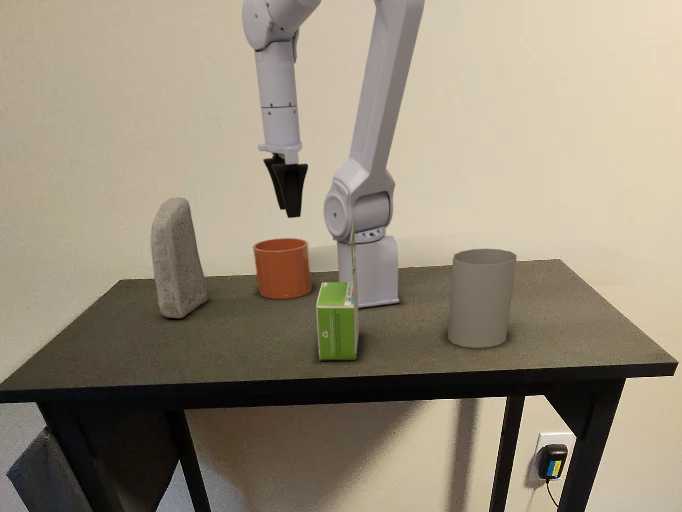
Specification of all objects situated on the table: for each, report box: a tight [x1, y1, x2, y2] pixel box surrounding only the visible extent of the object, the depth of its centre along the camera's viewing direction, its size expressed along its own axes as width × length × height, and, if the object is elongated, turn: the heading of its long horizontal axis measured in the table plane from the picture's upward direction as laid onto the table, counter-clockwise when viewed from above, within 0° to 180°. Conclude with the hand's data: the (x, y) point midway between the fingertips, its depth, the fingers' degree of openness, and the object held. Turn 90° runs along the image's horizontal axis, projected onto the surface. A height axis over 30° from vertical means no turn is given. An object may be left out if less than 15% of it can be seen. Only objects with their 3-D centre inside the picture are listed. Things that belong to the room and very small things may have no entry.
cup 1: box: [252, 237, 313, 300], centre depth 102 cm, size 9×9×7 cm
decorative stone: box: [150, 196, 209, 319], centre depth 94 cm, size 11×6×15 cm, turn 168°
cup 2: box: [447, 248, 518, 349], centre depth 81 cm, size 8×8×10 cm
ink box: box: [315, 224, 360, 362], centre depth 79 cm, size 10×5×14 cm, turn 178°
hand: (289, 213), depth 101 cm, fingers open, 7 cm apart
